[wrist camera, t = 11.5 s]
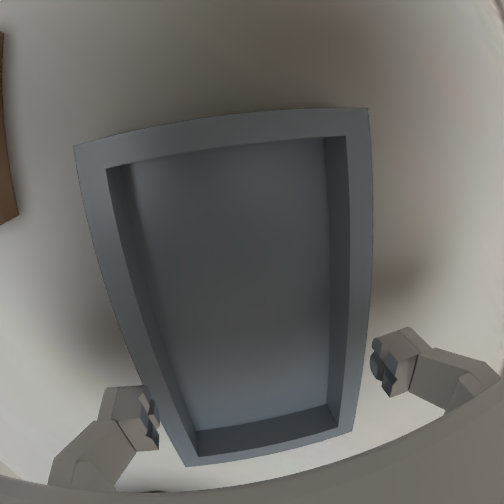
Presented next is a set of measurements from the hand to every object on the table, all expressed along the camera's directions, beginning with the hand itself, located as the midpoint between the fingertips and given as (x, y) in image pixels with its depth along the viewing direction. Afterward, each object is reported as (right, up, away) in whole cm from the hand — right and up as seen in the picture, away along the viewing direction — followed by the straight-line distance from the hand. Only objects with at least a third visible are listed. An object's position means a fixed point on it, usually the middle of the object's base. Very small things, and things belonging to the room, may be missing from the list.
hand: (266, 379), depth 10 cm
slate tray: (-1, +1, +4) cm, 5 cm away
